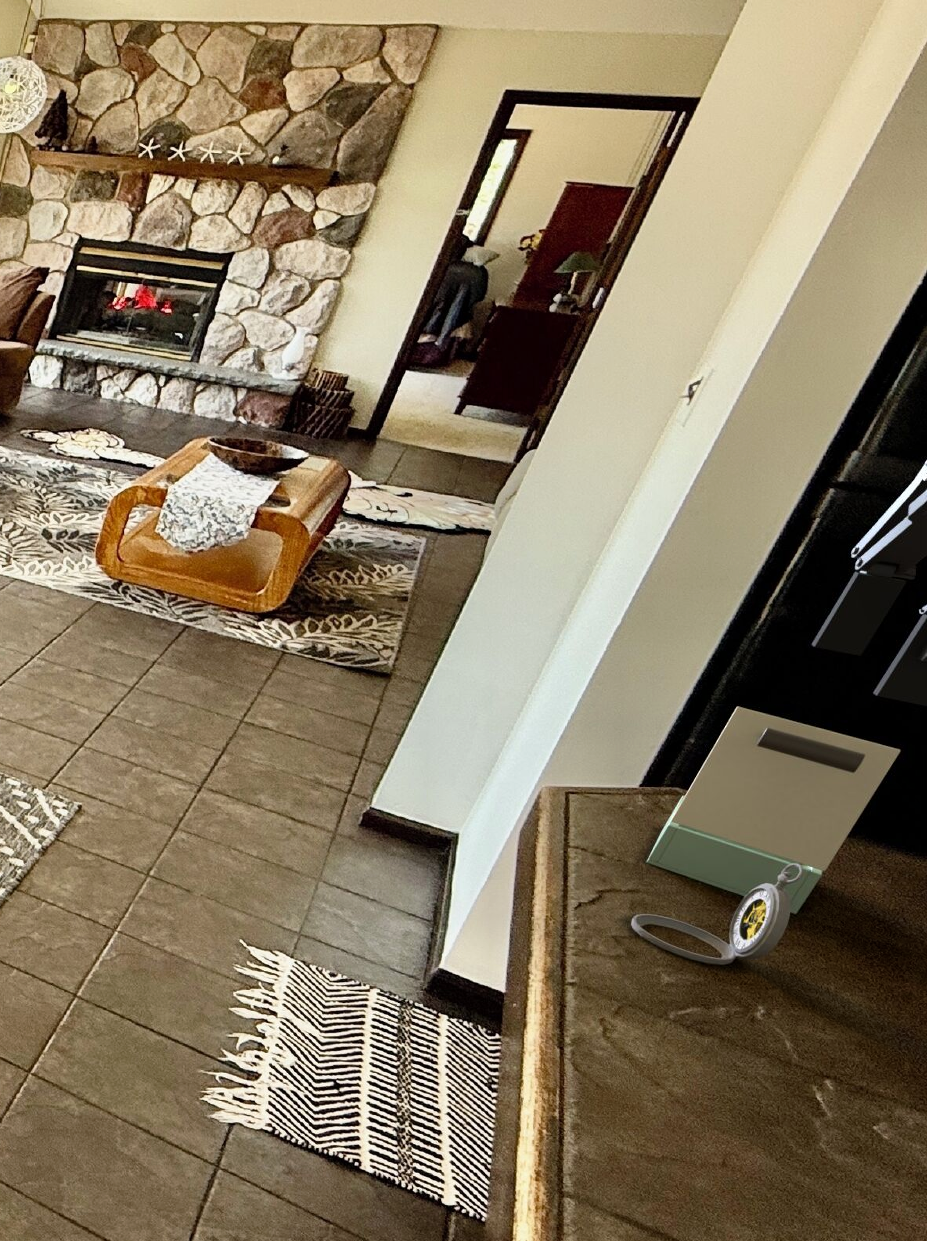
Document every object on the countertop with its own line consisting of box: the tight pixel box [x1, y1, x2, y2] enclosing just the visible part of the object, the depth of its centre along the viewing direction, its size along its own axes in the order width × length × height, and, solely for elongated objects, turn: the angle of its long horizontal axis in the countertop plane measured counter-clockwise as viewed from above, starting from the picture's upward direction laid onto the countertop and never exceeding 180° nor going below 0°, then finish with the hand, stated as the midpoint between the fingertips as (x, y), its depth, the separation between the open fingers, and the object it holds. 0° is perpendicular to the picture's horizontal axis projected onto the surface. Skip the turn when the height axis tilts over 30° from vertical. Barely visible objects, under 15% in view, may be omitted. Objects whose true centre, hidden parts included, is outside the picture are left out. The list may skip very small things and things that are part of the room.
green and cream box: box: [646, 795, 823, 915], centre depth 116 cm, size 11×10×5 cm
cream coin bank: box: [671, 706, 901, 872], centre depth 107 cm, size 12×10×9 cm
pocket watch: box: [630, 863, 804, 966], centre depth 101 cm, size 8×8×10 cm
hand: (866, 674), depth 92 cm, fingers open, 13 cm apart
